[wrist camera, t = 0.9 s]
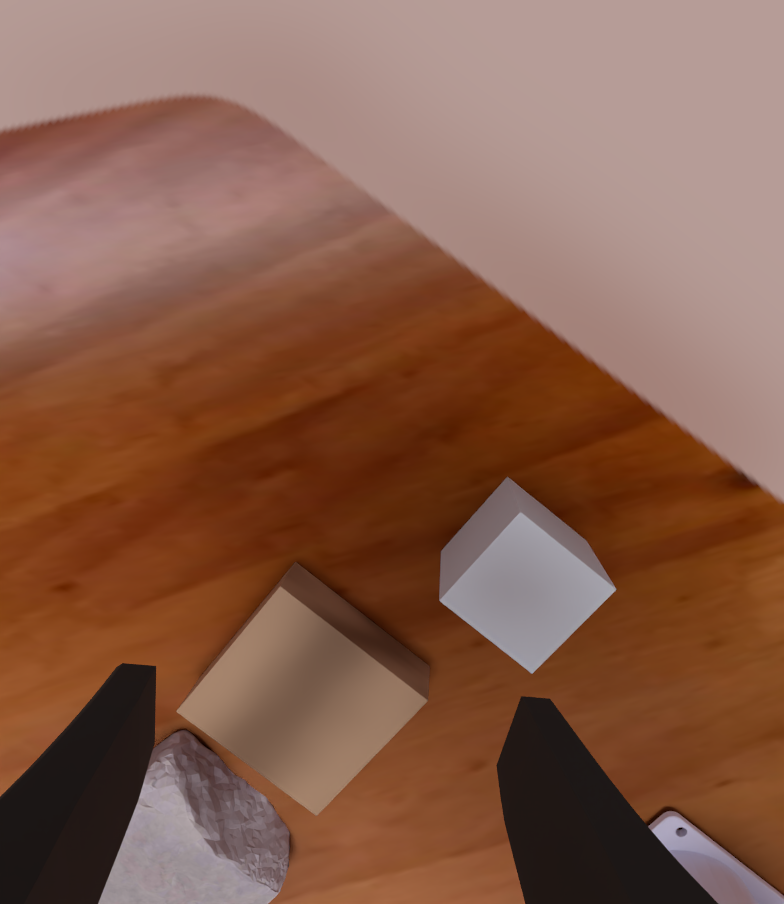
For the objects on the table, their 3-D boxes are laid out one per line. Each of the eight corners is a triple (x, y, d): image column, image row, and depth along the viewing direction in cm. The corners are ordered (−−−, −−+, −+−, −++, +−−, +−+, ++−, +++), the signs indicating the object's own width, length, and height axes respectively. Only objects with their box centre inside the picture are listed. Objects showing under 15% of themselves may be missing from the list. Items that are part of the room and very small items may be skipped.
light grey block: (586, 540, 27) (616, 589, 22) (517, 611, 28) (532, 673, 23) (507, 476, 26) (520, 511, 22) (440, 550, 28) (439, 600, 23)
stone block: (318, 809, 33) (176, 707, 30) (309, 903, 29) (141, 794, 26) (176, 906, 36) (33, 821, 33) (147, 1005, 32) (-20, 917, 29)
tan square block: (430, 661, 29) (428, 700, 26) (329, 768, 31) (316, 816, 28) (297, 558, 29) (280, 586, 26) (202, 673, 30) (176, 711, 27)
